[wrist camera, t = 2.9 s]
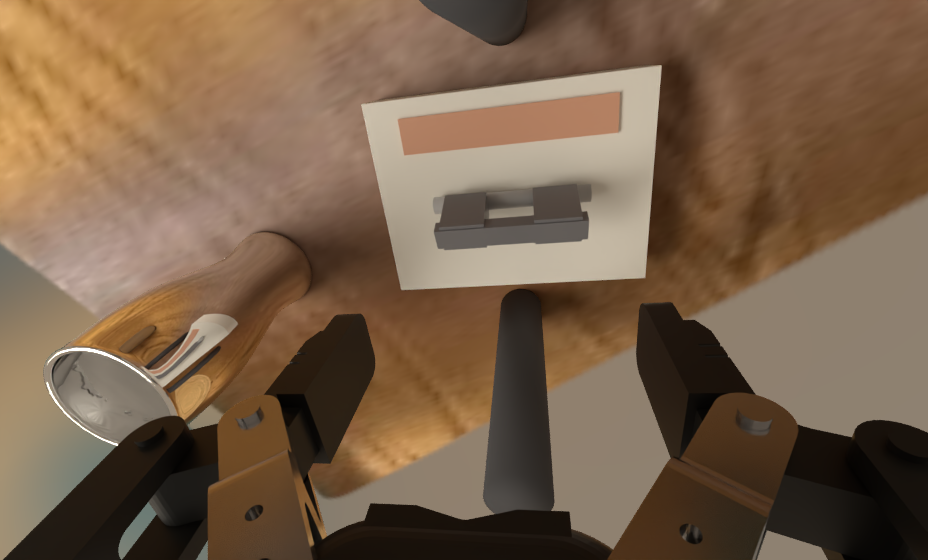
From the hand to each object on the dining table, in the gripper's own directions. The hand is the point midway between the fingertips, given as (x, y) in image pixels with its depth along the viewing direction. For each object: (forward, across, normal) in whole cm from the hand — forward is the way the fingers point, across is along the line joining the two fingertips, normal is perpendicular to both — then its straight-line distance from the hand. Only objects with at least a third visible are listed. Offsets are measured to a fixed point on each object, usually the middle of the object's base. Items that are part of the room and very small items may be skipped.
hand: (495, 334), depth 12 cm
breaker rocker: (+14, 0, 0) cm, 14 cm away
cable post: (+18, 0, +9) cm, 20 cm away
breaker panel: (+18, 0, 0) cm, 18 cm away
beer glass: (+18, +19, +5) cm, 26 cm away
